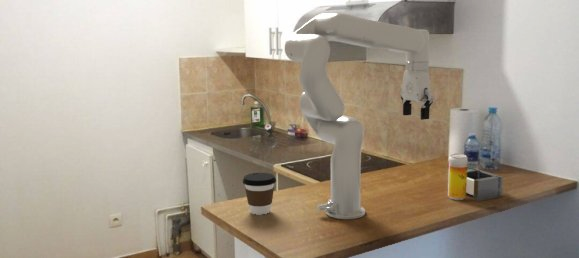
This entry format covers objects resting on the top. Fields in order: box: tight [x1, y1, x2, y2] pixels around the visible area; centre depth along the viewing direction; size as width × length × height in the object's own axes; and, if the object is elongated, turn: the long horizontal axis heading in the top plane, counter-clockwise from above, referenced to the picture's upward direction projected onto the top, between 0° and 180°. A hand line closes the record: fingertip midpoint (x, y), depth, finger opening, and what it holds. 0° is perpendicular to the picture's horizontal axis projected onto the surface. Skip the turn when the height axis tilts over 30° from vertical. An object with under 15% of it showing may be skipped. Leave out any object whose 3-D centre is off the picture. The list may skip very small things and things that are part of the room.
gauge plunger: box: [466, 165, 481, 196], centre depth 196 cm, size 5×10×8 cm, turn 25°
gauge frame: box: [467, 168, 504, 202], centre depth 196 cm, size 11×12×7 cm
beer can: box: [447, 153, 469, 201], centre depth 191 cm, size 6×6×15 cm
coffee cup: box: [242, 172, 277, 216], centre depth 181 cm, size 11×11×12 cm
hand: (415, 117), depth 190 cm, fingers open, 9 cm apart
